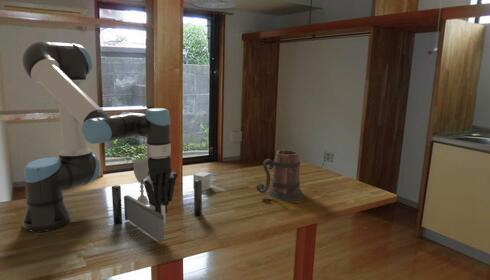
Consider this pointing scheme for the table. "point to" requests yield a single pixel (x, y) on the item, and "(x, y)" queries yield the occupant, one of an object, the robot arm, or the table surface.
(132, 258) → the table surface
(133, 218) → the gate leaf
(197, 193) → the gate frame
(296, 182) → the tankard
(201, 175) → the product box
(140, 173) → the chalice
